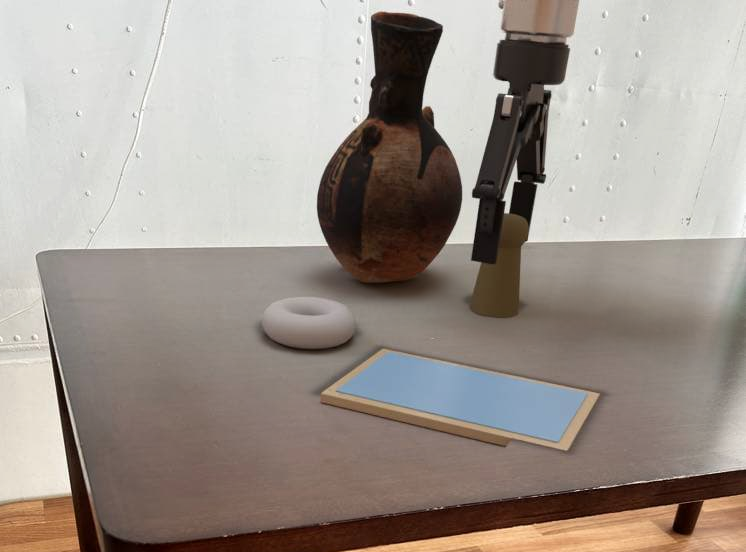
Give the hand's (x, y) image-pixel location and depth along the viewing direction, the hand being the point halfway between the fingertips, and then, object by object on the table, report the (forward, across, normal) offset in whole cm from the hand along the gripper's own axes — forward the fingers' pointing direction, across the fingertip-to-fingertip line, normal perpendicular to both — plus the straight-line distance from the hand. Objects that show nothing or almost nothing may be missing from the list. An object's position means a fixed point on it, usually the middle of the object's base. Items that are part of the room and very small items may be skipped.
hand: (500, 250), depth 96 cm
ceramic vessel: (+7, -5, -16) cm, 19 cm away
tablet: (+7, +30, +6) cm, 32 cm away
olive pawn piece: (+7, 0, 0) cm, 7 cm away
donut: (+7, +22, -14) cm, 27 cm away
